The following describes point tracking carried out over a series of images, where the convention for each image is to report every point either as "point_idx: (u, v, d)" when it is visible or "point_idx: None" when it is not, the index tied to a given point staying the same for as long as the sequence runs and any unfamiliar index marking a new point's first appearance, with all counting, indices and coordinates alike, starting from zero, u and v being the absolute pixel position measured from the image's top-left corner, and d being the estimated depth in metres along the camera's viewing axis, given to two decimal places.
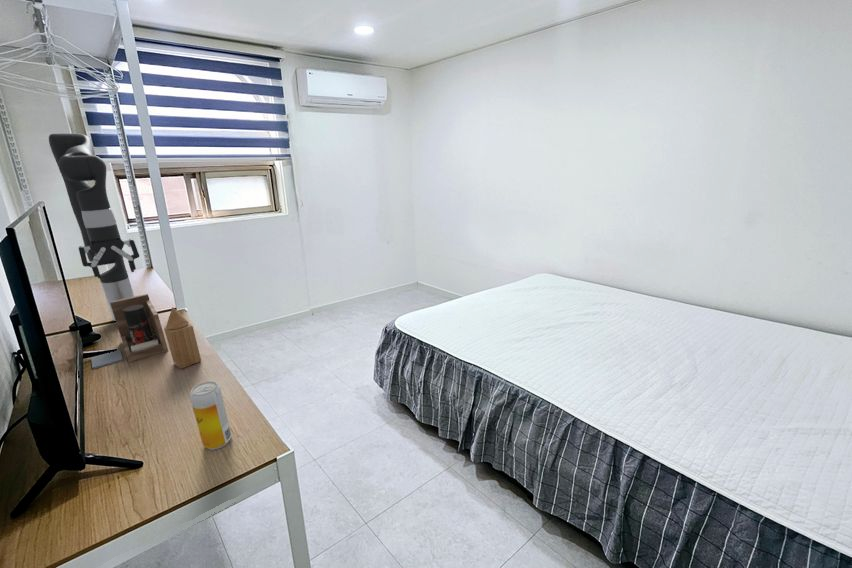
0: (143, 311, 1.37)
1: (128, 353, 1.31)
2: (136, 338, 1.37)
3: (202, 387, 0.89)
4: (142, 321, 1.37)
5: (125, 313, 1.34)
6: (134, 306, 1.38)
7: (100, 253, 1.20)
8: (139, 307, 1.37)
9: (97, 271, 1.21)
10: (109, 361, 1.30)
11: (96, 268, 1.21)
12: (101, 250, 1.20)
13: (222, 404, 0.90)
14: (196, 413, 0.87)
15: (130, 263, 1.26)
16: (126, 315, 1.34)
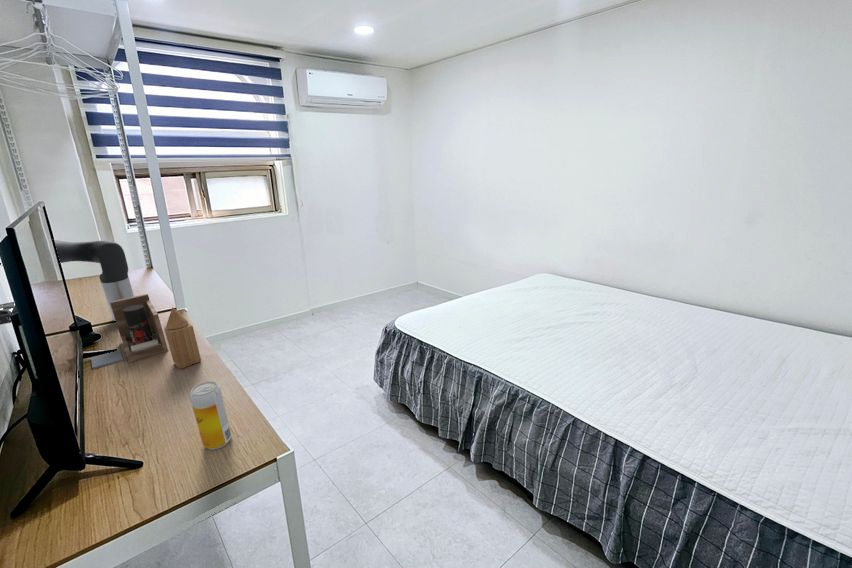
0: (143, 311, 1.37)
1: (128, 353, 1.31)
2: (136, 338, 1.37)
3: (202, 387, 0.89)
4: (142, 321, 1.37)
5: (125, 313, 1.34)
6: (134, 306, 1.38)
7: None
8: (139, 307, 1.37)
9: None
10: (109, 361, 1.30)
11: None
12: None
13: (222, 404, 0.90)
14: (196, 413, 0.87)
15: None
16: (125, 315, 1.34)
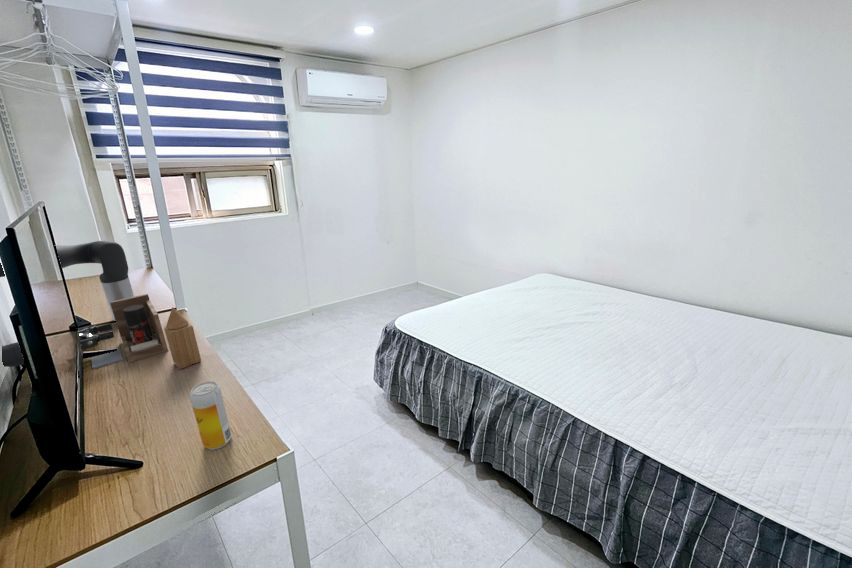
0: (143, 311, 1.37)
1: (128, 353, 1.31)
2: (136, 338, 1.37)
3: (202, 387, 0.89)
4: (142, 321, 1.37)
5: (125, 313, 1.34)
6: (134, 306, 1.38)
7: None
8: (139, 307, 1.37)
9: None
10: (109, 361, 1.30)
11: None
12: None
13: (222, 404, 0.90)
14: (196, 413, 0.87)
15: None
16: (125, 315, 1.34)
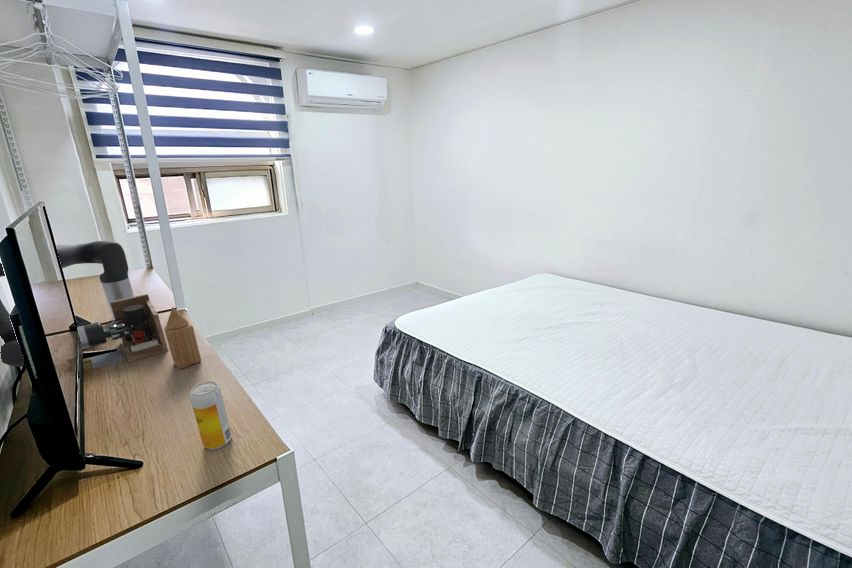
0: (143, 311, 1.37)
1: (128, 353, 1.31)
2: (136, 338, 1.37)
3: (202, 387, 0.89)
4: (142, 321, 1.37)
5: (125, 313, 1.34)
6: (134, 305, 1.38)
7: None
8: (139, 307, 1.37)
9: None
10: (109, 361, 1.30)
11: None
12: None
13: (222, 404, 0.90)
14: (196, 413, 0.87)
15: None
16: (126, 315, 1.34)
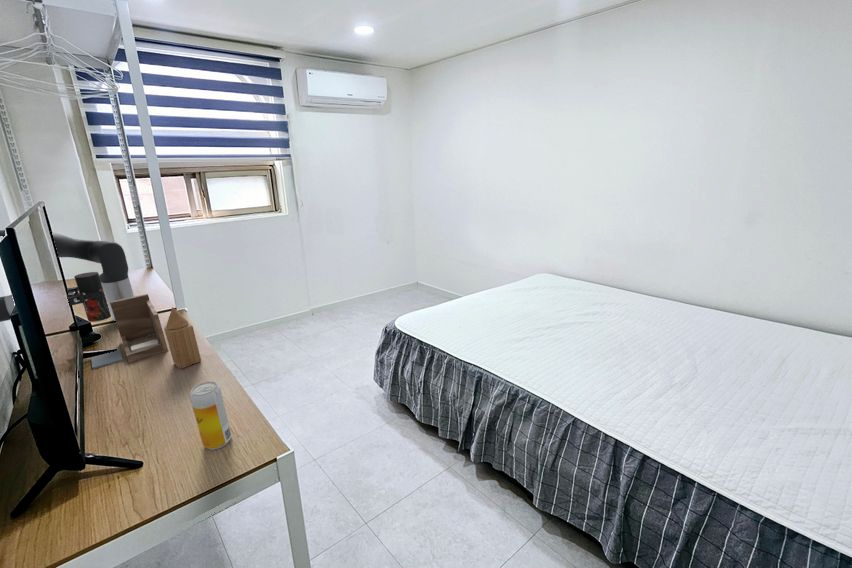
0: (97, 278, 1.25)
1: (128, 353, 1.31)
2: (89, 308, 1.25)
3: (202, 387, 0.89)
4: (96, 289, 1.25)
5: (76, 280, 1.22)
6: (88, 273, 1.26)
7: None
8: (93, 274, 1.25)
9: None
10: (109, 361, 1.30)
11: None
12: None
13: (222, 404, 0.90)
14: (196, 413, 0.87)
15: None
16: (77, 282, 1.22)
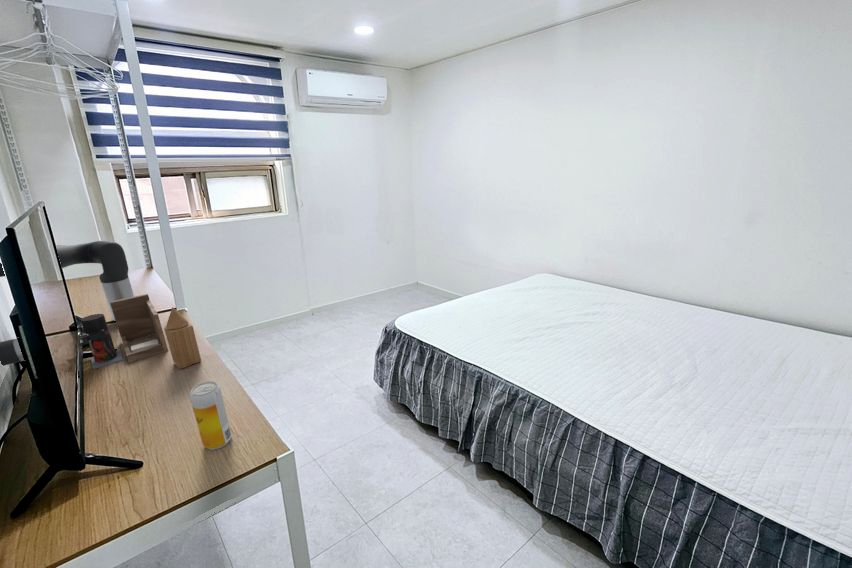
0: (103, 320, 1.29)
1: (128, 353, 1.31)
2: (96, 350, 1.28)
3: (202, 387, 0.89)
4: None
5: (83, 323, 1.26)
6: (93, 315, 1.30)
7: None
8: (99, 316, 1.28)
9: None
10: (109, 361, 1.30)
11: None
12: None
13: (222, 404, 0.90)
14: (196, 413, 0.87)
15: None
16: (83, 325, 1.26)
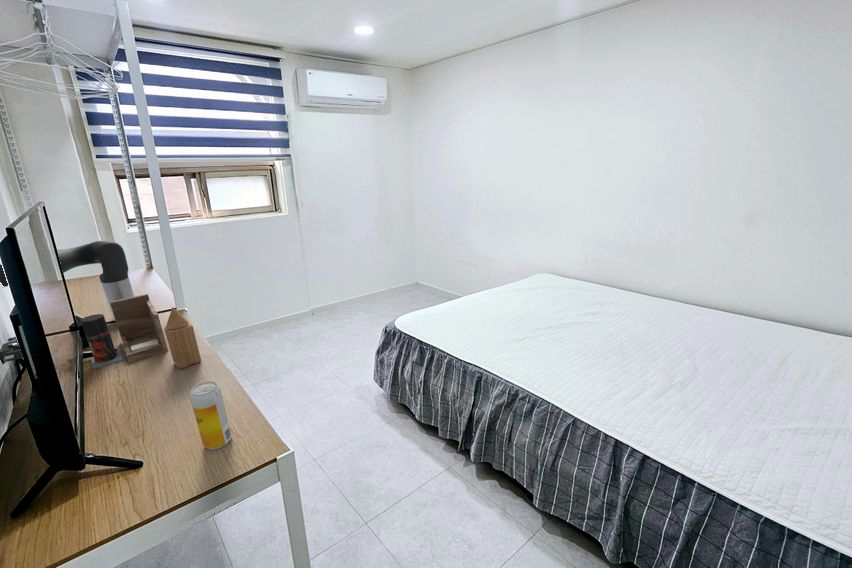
0: (103, 321, 1.28)
1: (128, 353, 1.31)
2: (96, 350, 1.28)
3: (202, 387, 0.89)
4: (102, 332, 1.28)
5: (83, 323, 1.25)
6: (93, 315, 1.29)
7: None
8: (98, 317, 1.28)
9: None
10: (109, 361, 1.30)
11: None
12: None
13: (222, 404, 0.90)
14: (196, 413, 0.87)
15: None
16: (83, 325, 1.25)
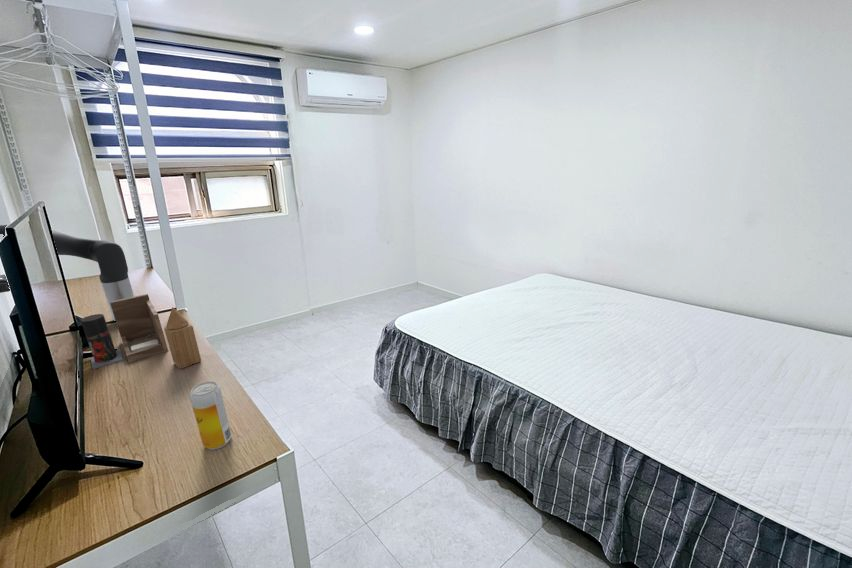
0: (103, 321, 1.28)
1: (128, 353, 1.31)
2: (96, 350, 1.28)
3: (202, 387, 0.89)
4: (102, 332, 1.28)
5: (83, 323, 1.25)
6: (93, 315, 1.29)
7: None
8: (98, 317, 1.28)
9: None
10: (109, 361, 1.30)
11: None
12: None
13: (222, 404, 0.90)
14: (196, 413, 0.87)
15: None
16: (83, 325, 1.26)
